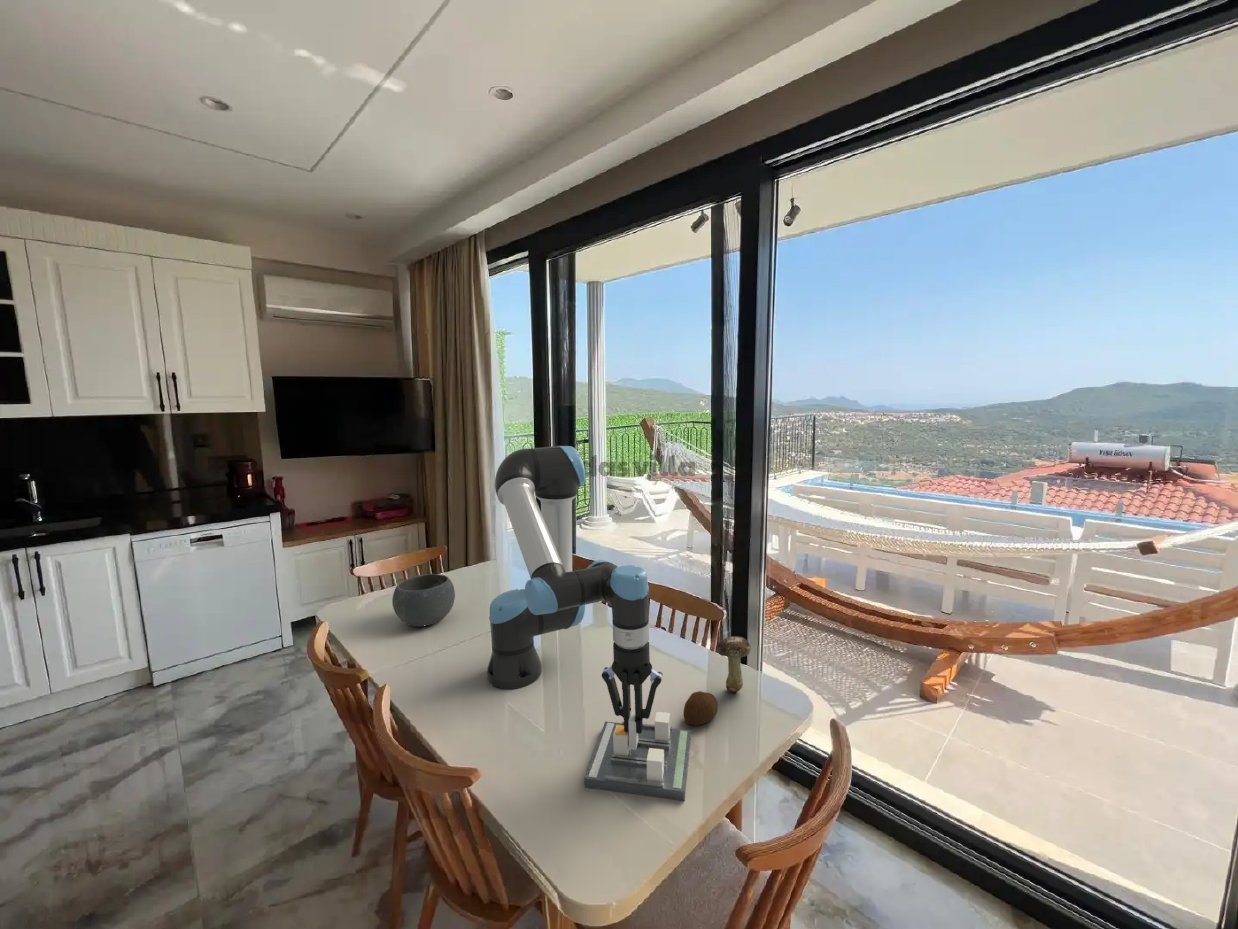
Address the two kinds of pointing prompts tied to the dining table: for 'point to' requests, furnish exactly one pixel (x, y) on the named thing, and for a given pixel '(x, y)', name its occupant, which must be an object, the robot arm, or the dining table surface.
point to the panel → (640, 764)
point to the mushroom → (734, 660)
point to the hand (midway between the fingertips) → (633, 745)
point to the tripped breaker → (621, 741)
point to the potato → (700, 708)
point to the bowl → (423, 599)
